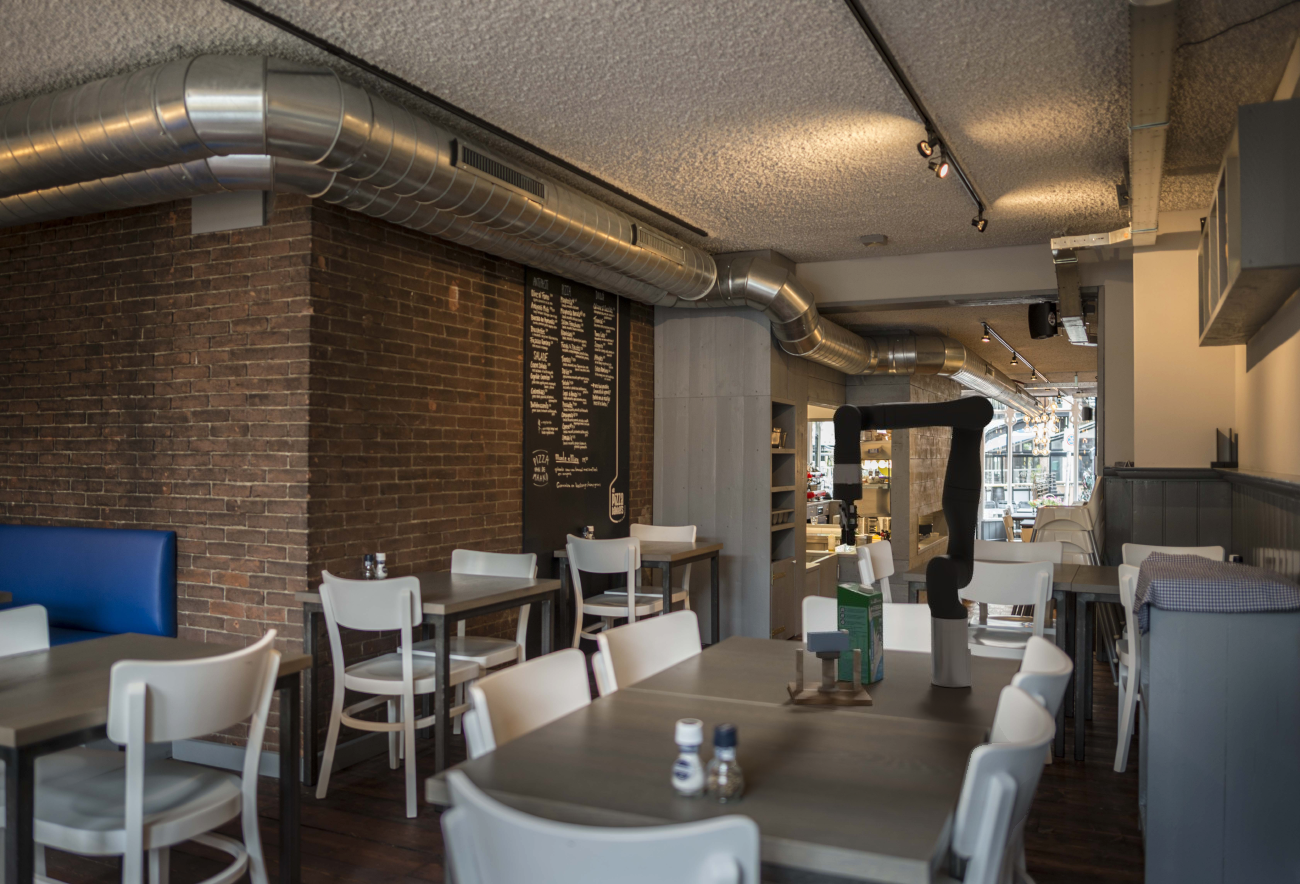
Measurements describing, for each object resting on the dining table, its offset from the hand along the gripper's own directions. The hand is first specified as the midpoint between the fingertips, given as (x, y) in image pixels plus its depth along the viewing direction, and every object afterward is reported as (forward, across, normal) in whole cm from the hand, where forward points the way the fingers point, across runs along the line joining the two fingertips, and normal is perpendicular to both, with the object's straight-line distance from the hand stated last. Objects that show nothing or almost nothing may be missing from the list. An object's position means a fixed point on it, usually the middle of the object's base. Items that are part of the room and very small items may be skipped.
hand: (848, 544), depth 242 cm
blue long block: (+27, +12, -7) cm, 30 cm away
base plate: (+36, +12, -7) cm, 39 cm away
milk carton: (+36, -7, +4) cm, 37 cm away
